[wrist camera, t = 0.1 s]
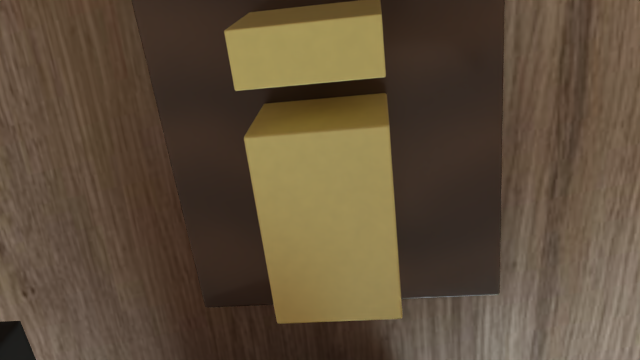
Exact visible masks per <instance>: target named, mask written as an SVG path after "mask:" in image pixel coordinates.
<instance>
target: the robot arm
mask: <svg viewBox="0 0 640 360" xmlns="http://www.w3.org/2000/svg"><path fill="white" fill-rule="evenodd" d="M0 360H36V359H35V356H34V354H33V351H32V349H31V346H30V344H29V342H28V339H27V337H26V334H25V332H24V329H23V327H22V324H21V322H20V321H7V322H0Z"/></svg>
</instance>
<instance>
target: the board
mask: <svg viewBox="0 0 640 360" xmlns="http://www.w3.org/2000/svg"><path fill="white" fill-rule="evenodd" d="M349 1H358V0H132V4H133V8H134V12H135V16H136V20H137V24H138V29H139V33H140V37H141V41H142V45H143V49H144V54H145V58H146V62H147V66H148V70H149V74H150V78H151V83H152V87H153V91H154V95H155V99H156V103H157V107H158V112H159V116H160V120H161V124H162V128H163V132H164V137H165V141H166V145H167V149H168V153H169V157H170V161H171V166H172V170H173V174H174V178H175V182H176V186H177V190H178V195H179V199H180V203H181V207H182V211H183V215H184V220H185V224H186V228H187V232H188V236H189V240H190V244H191V249H192V253H193V257H194V261H195V265H196V269H197V273H198V278H199V282H200V286H201V290H202V294H203V298H204V303H205V306H206V307H227V306H250V305H273V304H274V303H273V298H272V292H271V287H270V281H269V276H268V270H267V265H266V259H265V254H264V248H263V243H262V237H261V232H260V226H259V220H258V215H257V209H256V204H255V198H254V193H253V187H252V182H251V176H250V171H249V165H248V160H247V154H246V149H245V143H244V136H245V134H246V133H247V131H248V129H249V128H250V126H251V125H252V123H253V121H254V120H255V118H256V116H257V115H258V113H259V111H260V110H261V108H262V106H263V105H264V104H267V103H278V102H290V101H301V100H312V99H323V98H335V97H346V96H357V95H368V94H380V93H386V95H387V103H388V115H389V127H390V142H391V156H392V171H393V186H394V200H395V215H396V229H397V244H398V259H399V273H400V288H401V299H412V298H436V297H459V296H482V295H499V293H500V238H501V179H502V121H503V63H504V4H505V0H380V2H381V12H382V25H383V40H384V54H385V69H386V77H382V78H371V79H360V80H349V81H338V82H328V83H317V84H306V85H295V86H284V87H273V88H263V89H252V90H241V91H235V89H234V84H233V78H232V73H231V67H230V61H229V56H228V50H227V45H226V39H225V34H224V30H226V29H227V28H228V27H230V26H231V25H233V24H234V23H235V22H237V21H238V20H240V19H241V18H242V17H244V16H245V15H247V14H248V13H250V12H258V11H267V10H276V9H285V8H294V7H303V6H312V5H321V4H330V3H340V2H349Z"/></svg>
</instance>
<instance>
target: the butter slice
mask: <svg viewBox="0 0 640 360" xmlns="http://www.w3.org/2000/svg"><path fill="white" fill-rule="evenodd" d="M224 34H225V39H226V45H227V50H228V56H229V61H230V67H231V73H232V78H233V84H234V89H235V91H241V90H252V89H263V88H273V87H284V86H295V85H306V84H317V83H328V82H338V81H349V80H360V79H371V78H382V77H386V69H385V54H384V40H383V25H382V12H381V2H380V0H358V1H349V2H340V3H330V4H321V5H312V6H303V7H294V8H285V9H276V10H267V11H258V12H250V13H248V14H247V15H245V16H244V17H242V18H241V19H240V20H238V21H237V22H235V23H234V24H233V25H231V26H230V27H228V28H227V29H226V30H224Z"/></svg>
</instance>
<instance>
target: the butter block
mask: <svg viewBox="0 0 640 360" xmlns="http://www.w3.org/2000/svg"><path fill="white" fill-rule="evenodd" d="M244 143H245V149H246V154H247V160H248V165H249V171H250V176H251V182H252V187H253V193H254V198H255V204H256V209H257V215H258V220H259V226H260V232H261V237H262V243H263V248H264V254H265V259H266V265H267V270H268V276H269V281H270V287H271V292H272V298H273V303H274V309H275V315H276V320H277V323H279V324H283V323H308V322H334V321H360V320H386V319H401V318H402V302H401V288H400V273H399V259H398V244H397V229H396V215H395V200H394V186H393V171H392V156H391V142H390V127H389V115H388V103H387V95H386V93H380V94H368V95H357V96H346V97H335V98H323V99H312V100H301V101H290V102H278V103H267V104H264V105H263V106H262V108H261V110H260V111H259V113H258V115H257V116H256V118H255V120H254V121H253V123H252V125H251V126H250V128H249V129H248V131H247V133H246V134H245V136H244Z"/></svg>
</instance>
